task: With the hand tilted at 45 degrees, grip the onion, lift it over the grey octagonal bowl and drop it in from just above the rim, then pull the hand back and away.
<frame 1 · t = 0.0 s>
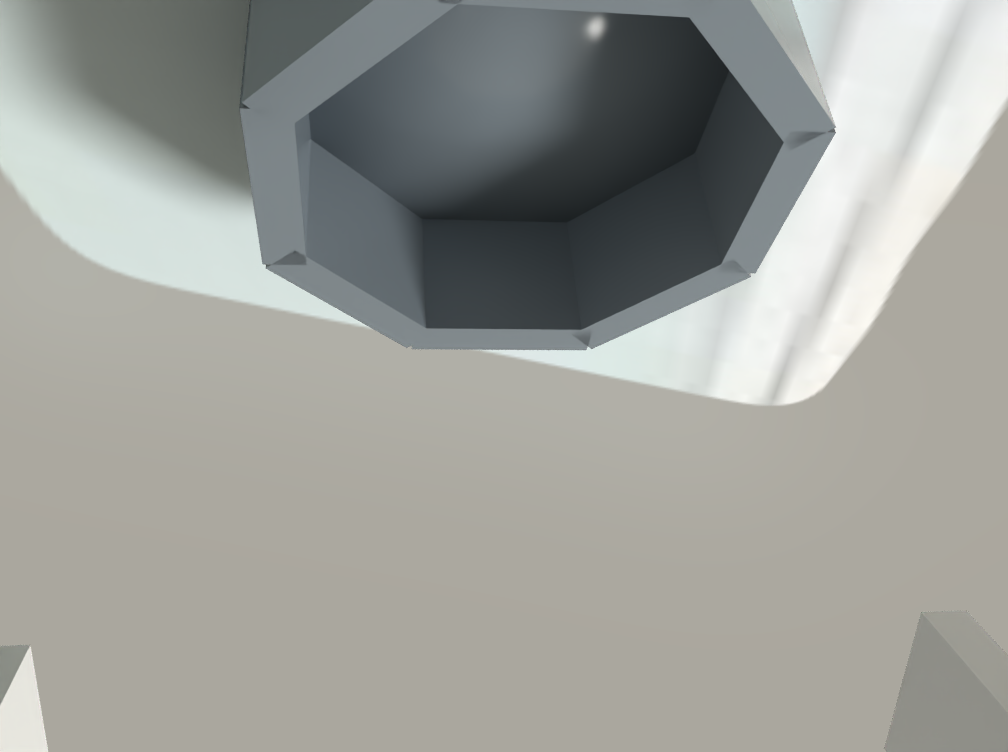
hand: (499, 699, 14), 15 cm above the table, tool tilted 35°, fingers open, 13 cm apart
grey octagonal bowl: (516, 61, 23), on the table
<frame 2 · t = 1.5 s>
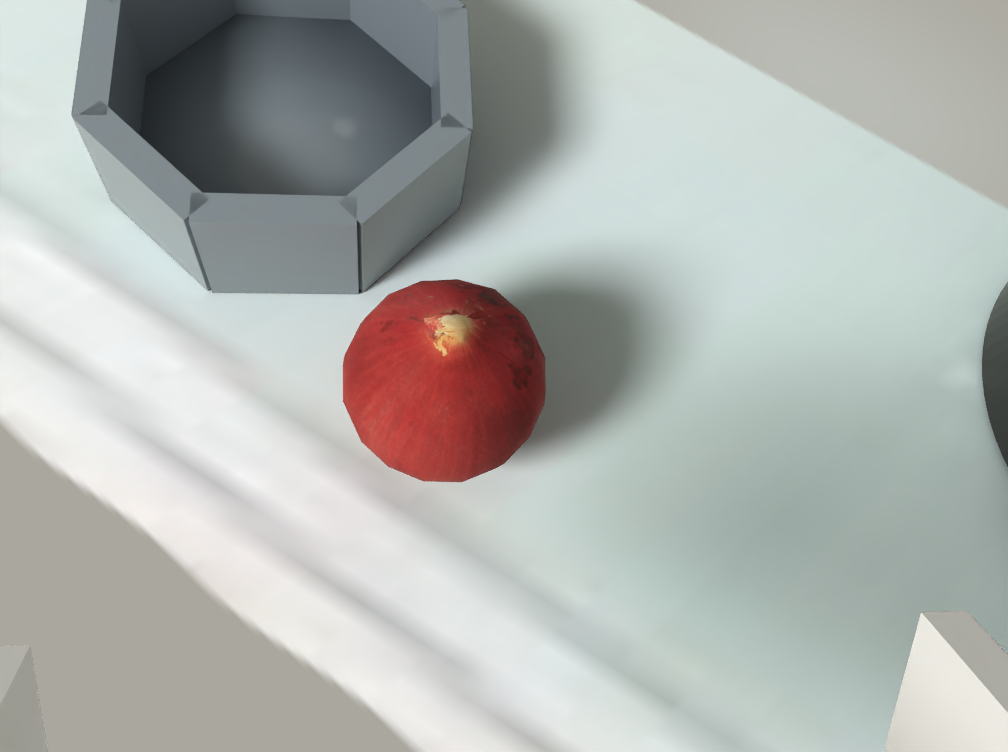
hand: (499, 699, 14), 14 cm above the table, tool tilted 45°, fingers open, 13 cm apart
grey octagonal bowl: (291, 143, 34), on the table
onion: (437, 424, 31), on the table
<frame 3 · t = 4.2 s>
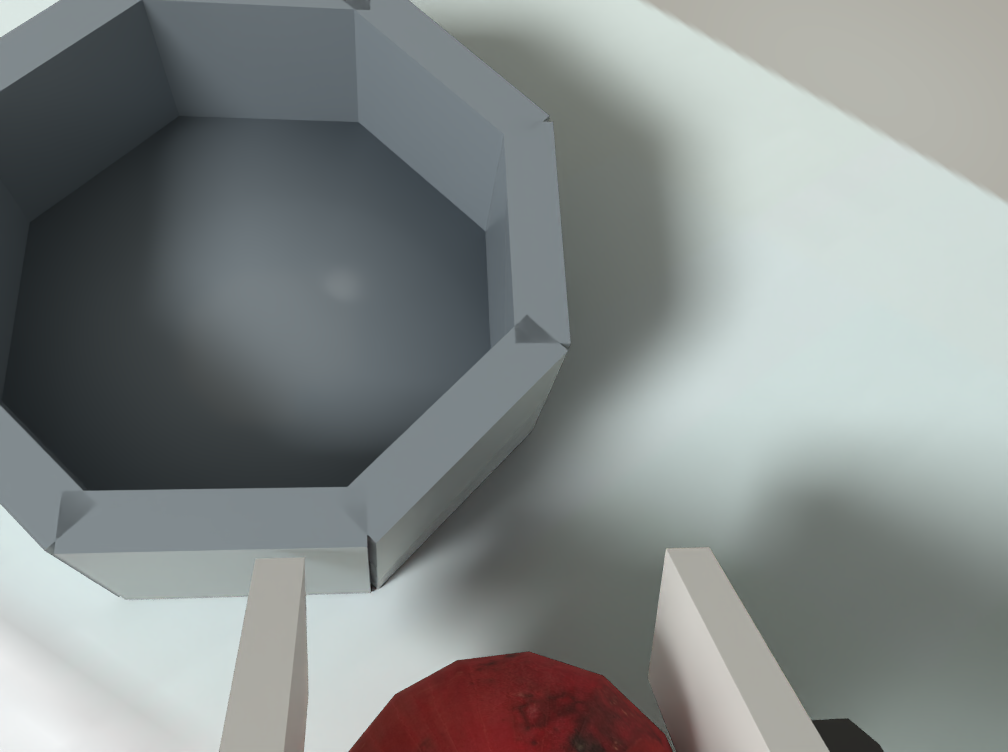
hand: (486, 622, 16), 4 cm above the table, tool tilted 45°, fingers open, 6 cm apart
grey octagonal bowl: (264, 325, 21), on the table
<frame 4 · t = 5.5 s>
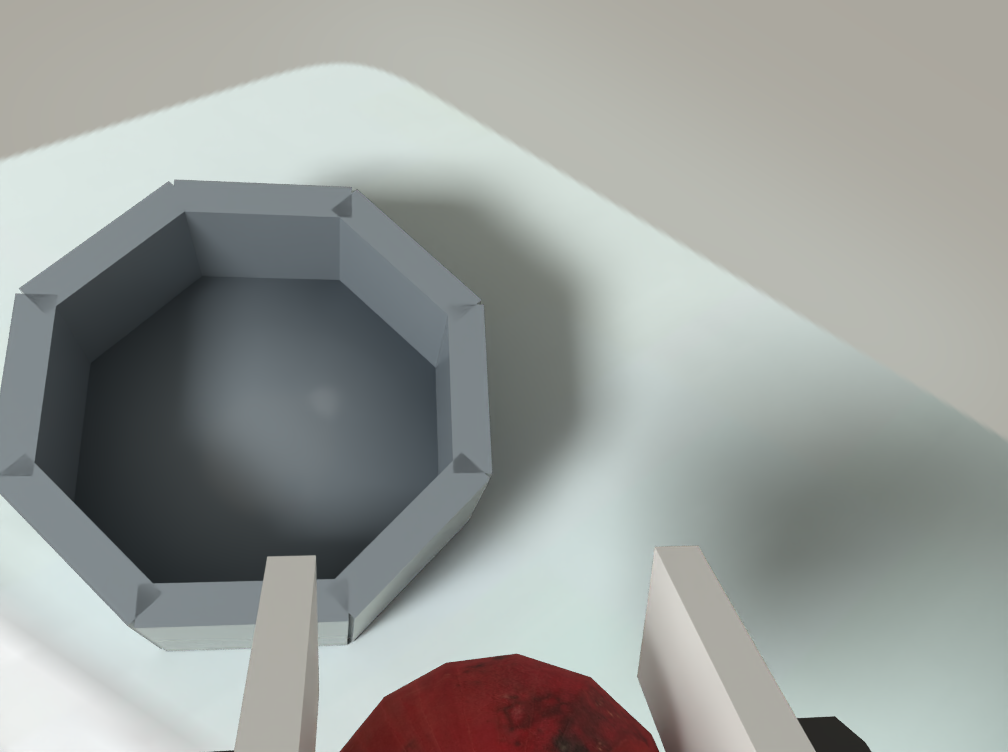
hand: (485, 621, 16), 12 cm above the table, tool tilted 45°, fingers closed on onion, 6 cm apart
grey octagonal bowl: (267, 439, 28), on the table
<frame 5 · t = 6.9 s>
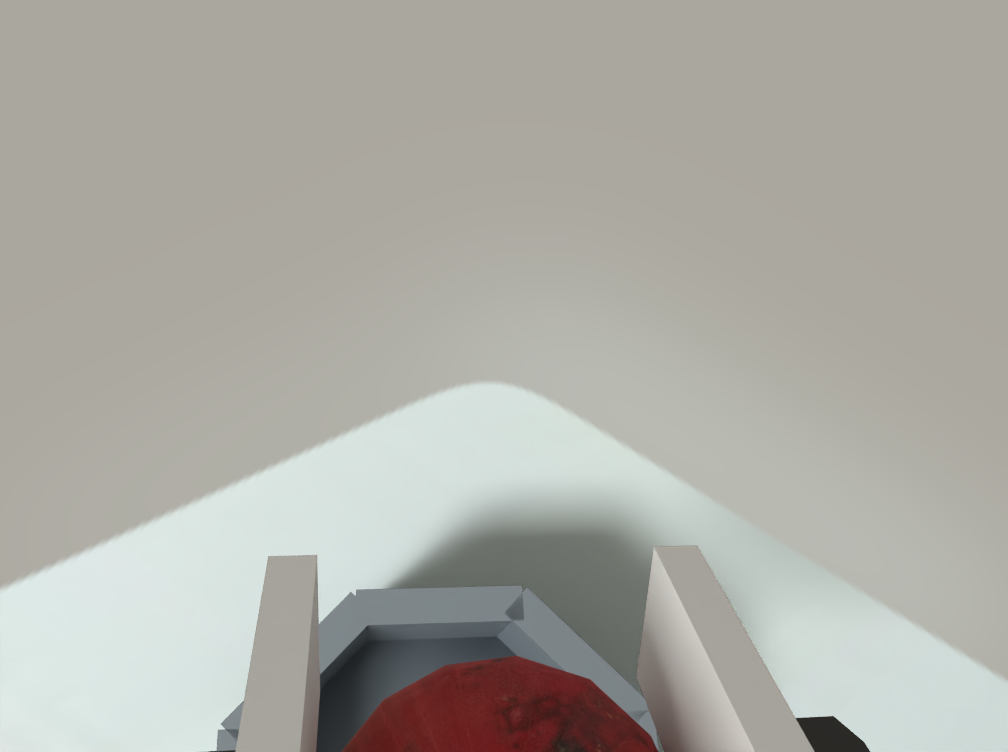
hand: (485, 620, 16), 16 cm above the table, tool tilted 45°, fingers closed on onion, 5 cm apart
when the fingers open (8 cm above the table, at t = 8.9 s): onion drops 3 cm, resting on grey octagonal bowl.
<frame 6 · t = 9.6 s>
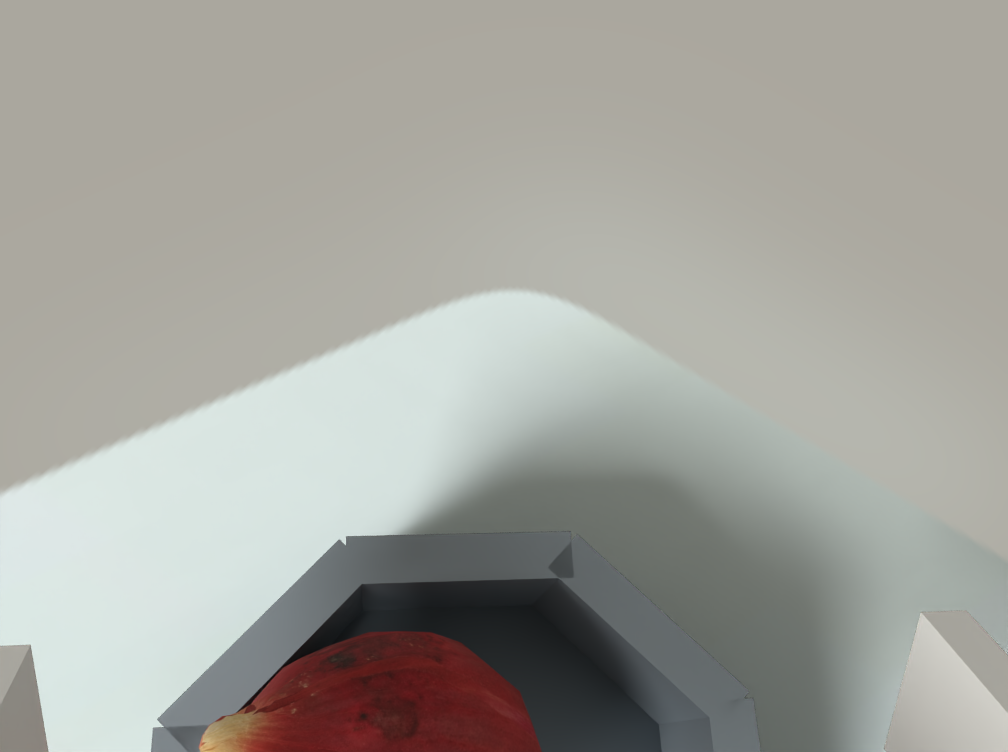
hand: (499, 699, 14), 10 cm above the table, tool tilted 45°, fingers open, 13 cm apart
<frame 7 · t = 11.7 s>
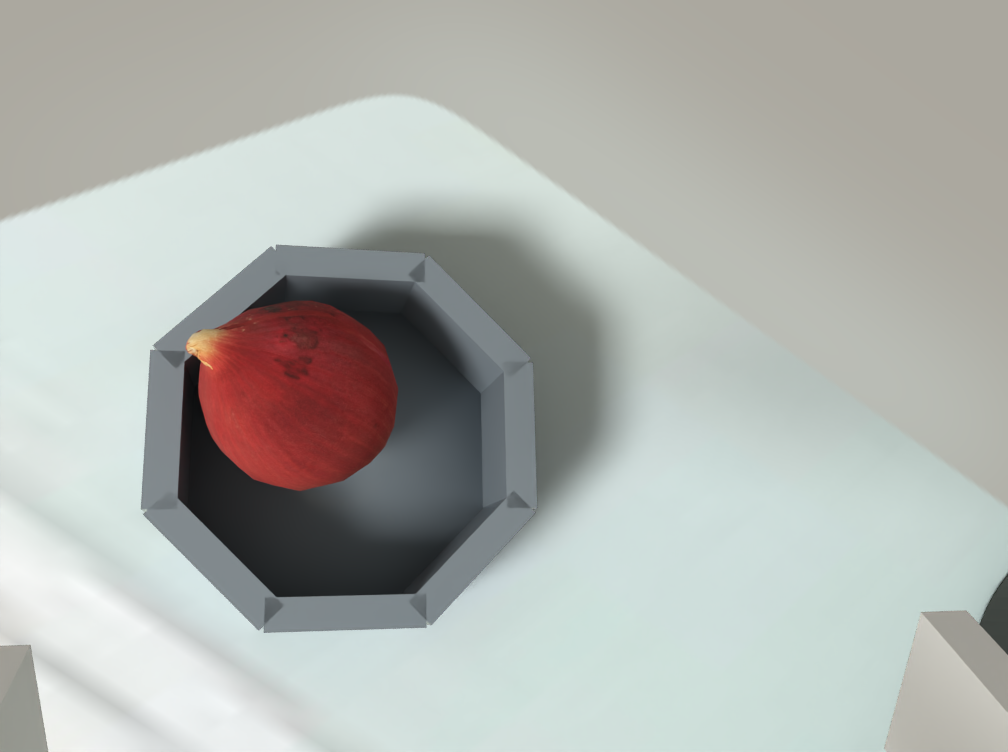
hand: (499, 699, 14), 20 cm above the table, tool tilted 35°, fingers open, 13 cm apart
grey octagonal bowl: (340, 451, 34), on the table
onion: (378, 443, 33), point 2 cm above the table, touching grey octagonal bowl
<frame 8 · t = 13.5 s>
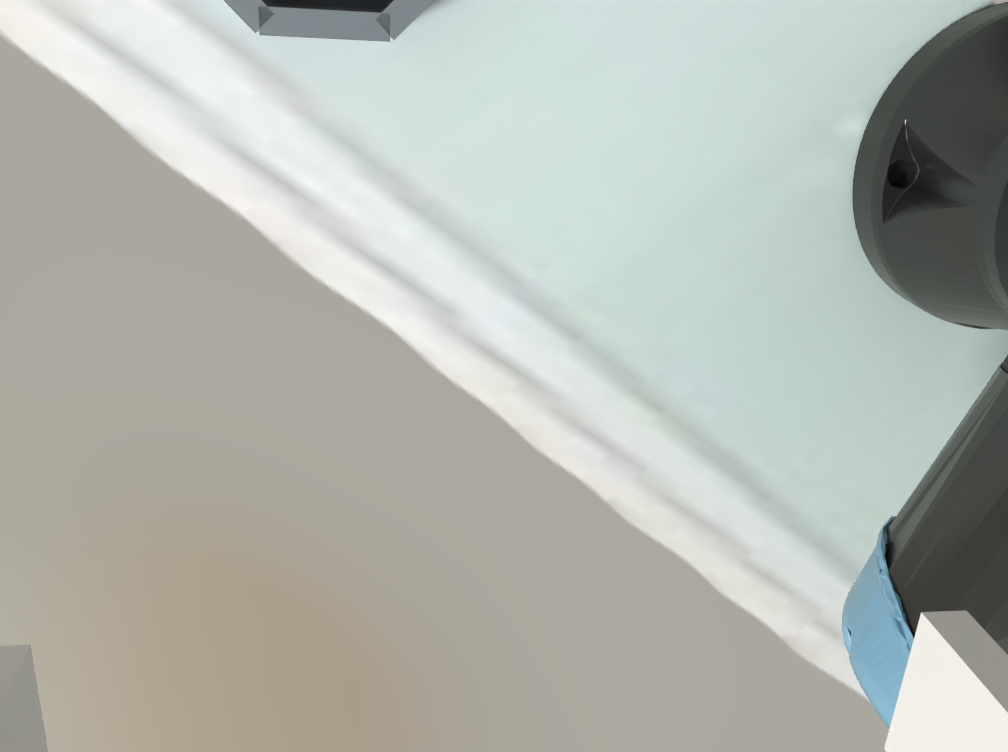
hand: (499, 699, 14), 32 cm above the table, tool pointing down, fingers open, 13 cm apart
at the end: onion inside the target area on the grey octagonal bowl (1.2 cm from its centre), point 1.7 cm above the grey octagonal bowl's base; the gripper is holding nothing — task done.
